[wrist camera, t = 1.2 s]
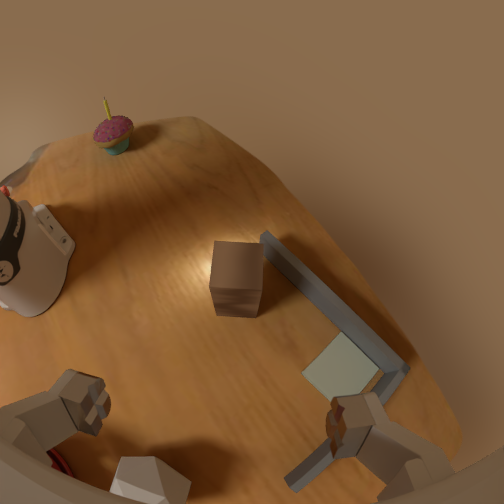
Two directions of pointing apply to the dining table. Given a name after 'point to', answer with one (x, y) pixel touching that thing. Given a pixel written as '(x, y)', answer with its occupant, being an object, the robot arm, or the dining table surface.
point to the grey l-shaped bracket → (335, 352)
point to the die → (149, 481)
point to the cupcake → (113, 133)
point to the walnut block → (236, 278)
